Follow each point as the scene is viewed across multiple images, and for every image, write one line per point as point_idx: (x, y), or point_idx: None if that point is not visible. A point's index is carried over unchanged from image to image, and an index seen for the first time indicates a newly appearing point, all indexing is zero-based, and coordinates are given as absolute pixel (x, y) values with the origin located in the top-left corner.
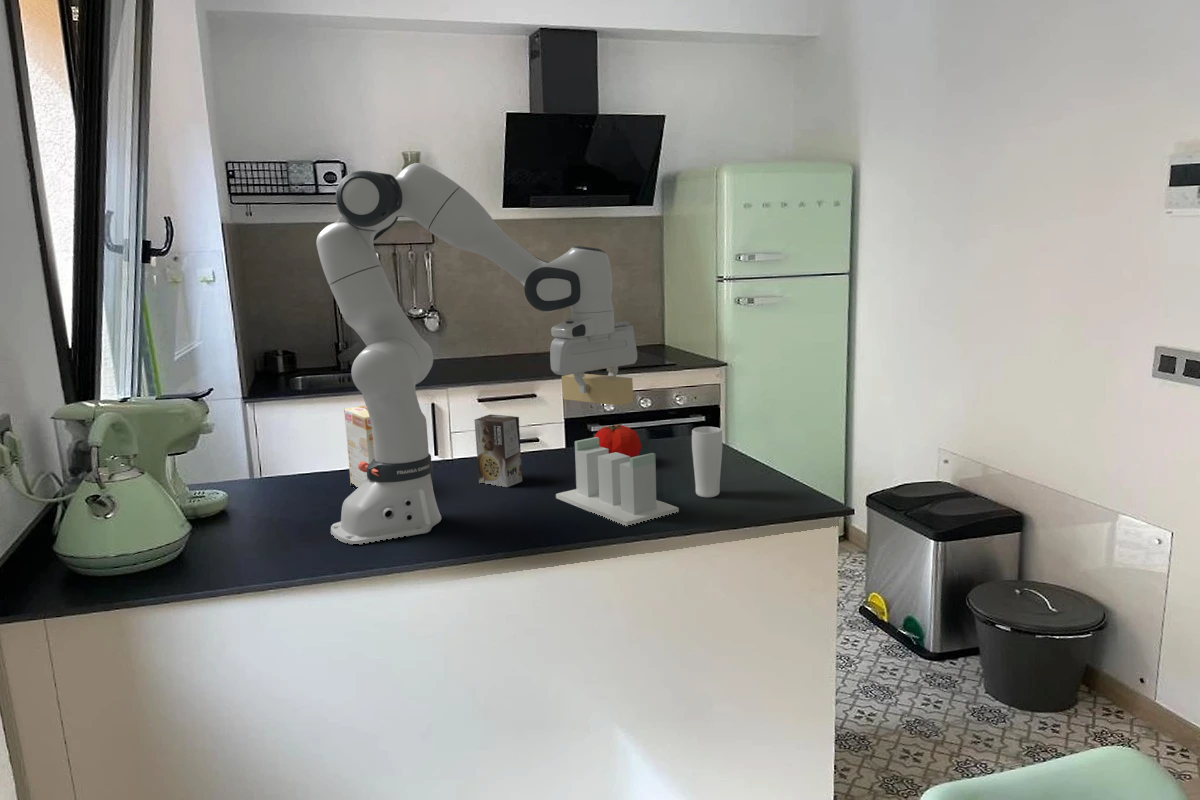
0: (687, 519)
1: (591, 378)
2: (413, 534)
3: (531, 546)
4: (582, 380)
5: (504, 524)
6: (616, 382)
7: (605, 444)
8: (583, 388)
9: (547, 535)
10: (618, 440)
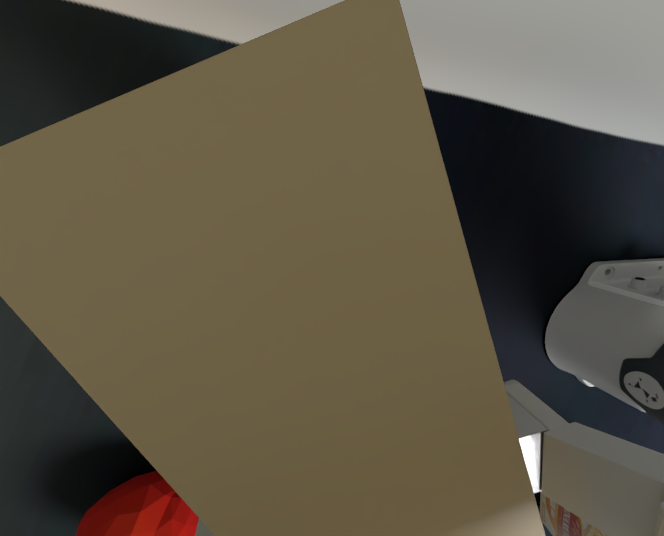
0: (154, 77)
1: (512, 517)
2: (613, 261)
3: (500, 107)
4: (638, 456)
5: (484, 247)
6: (399, 39)
7: (180, 517)
8: (541, 404)
9: (453, 149)
10: (142, 523)
